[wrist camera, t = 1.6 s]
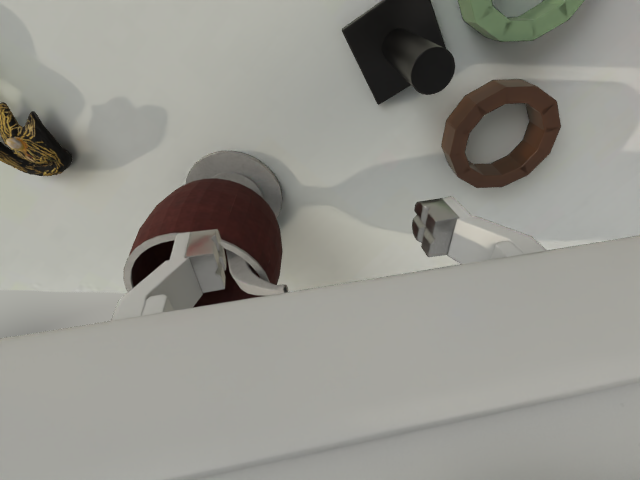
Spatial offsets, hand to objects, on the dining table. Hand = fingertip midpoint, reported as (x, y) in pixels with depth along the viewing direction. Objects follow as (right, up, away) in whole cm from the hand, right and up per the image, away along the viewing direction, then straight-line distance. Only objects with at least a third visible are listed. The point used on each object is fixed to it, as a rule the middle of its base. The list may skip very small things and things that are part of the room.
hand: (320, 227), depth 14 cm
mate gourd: (-10, +6, +30) cm, 32 cm away
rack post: (+8, +19, +20) cm, 28 cm away
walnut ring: (+20, +12, +25) cm, 34 cm away
